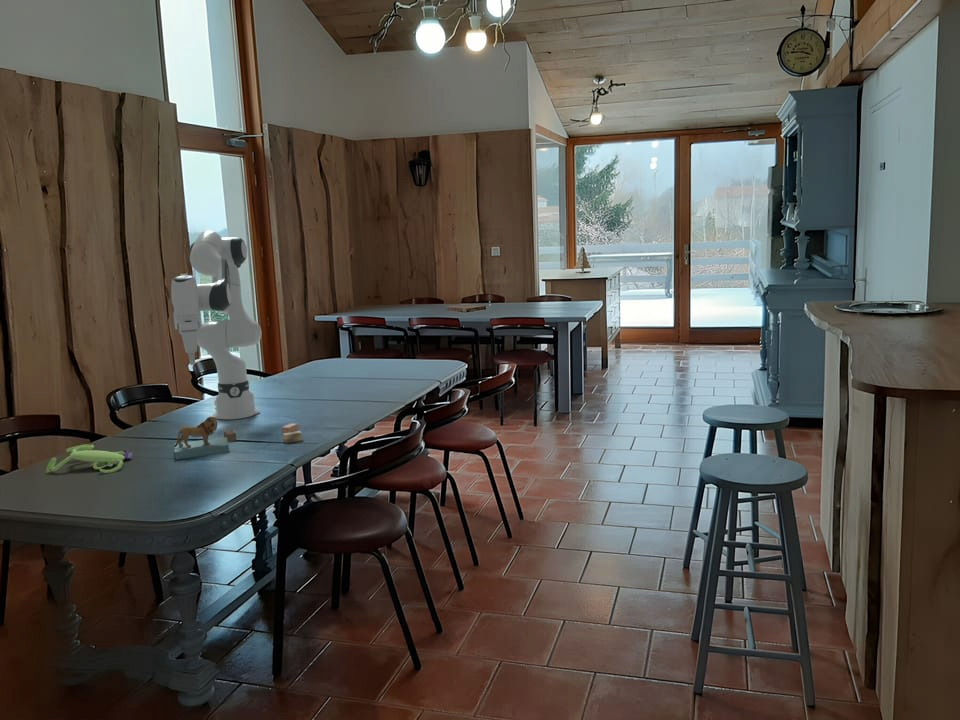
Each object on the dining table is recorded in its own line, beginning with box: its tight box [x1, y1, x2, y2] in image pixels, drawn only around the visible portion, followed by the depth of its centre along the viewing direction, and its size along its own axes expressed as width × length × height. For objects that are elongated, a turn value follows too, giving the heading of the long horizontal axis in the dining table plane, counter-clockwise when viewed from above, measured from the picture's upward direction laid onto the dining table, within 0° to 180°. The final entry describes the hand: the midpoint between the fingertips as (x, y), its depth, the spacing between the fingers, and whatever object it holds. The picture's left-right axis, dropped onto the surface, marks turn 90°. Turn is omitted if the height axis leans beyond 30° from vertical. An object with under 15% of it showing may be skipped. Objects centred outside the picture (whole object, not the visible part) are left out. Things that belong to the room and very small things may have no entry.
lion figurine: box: [173, 416, 219, 448], centre depth 265 cm, size 15×5×9 cm, turn 118°
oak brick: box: [282, 430, 303, 444], centre depth 275 cm, size 6×3×3 cm, turn 121°
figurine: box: [45, 443, 134, 474], centre depth 256 cm, size 18×27×6 cm
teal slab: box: [174, 436, 230, 460], centre depth 266 cm, size 12×17×2 cm
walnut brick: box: [223, 429, 237, 443], centre depth 281 cm, size 6×3×3 cm, turn 30°
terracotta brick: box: [281, 423, 300, 436], centre depth 286 cm, size 6×3×3 cm, turn 159°
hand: (192, 362), depth 272 cm, fingers open, 8 cm apart
